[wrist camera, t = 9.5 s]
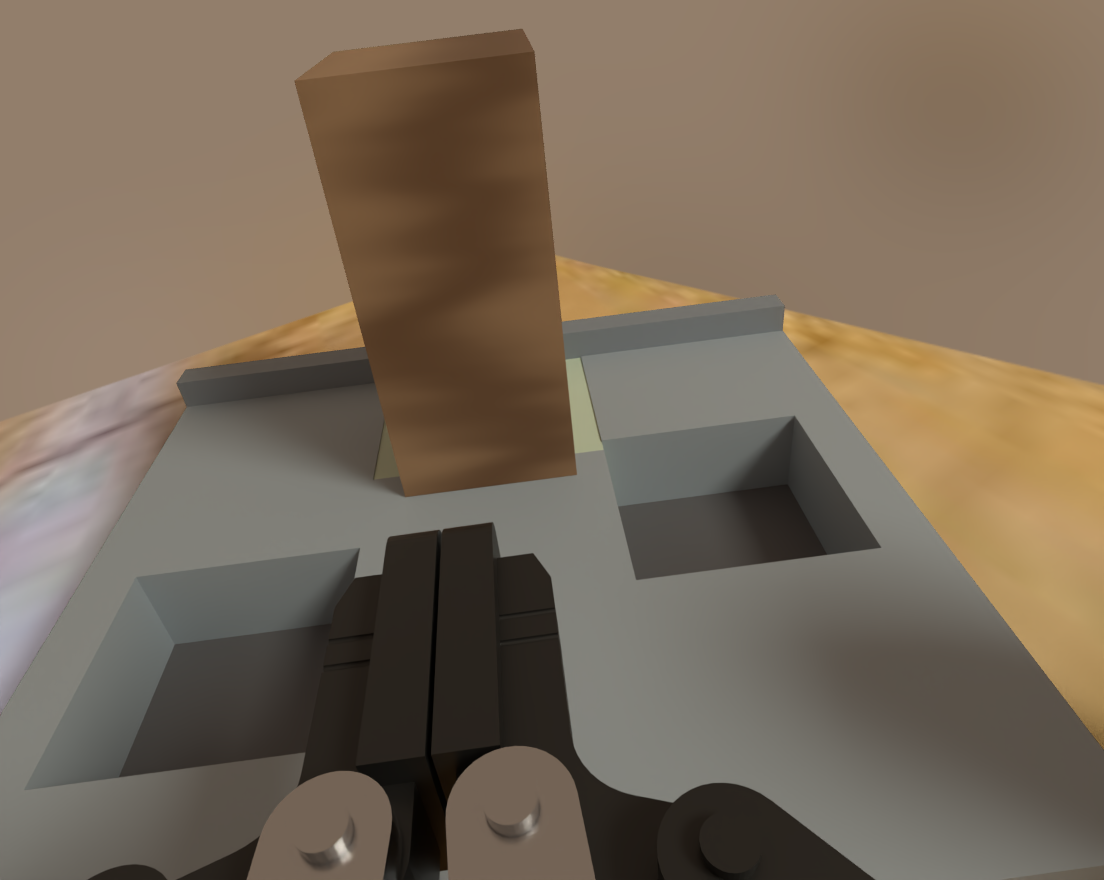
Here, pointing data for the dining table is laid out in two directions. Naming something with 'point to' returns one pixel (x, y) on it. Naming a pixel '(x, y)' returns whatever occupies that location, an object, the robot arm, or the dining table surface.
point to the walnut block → (448, 252)
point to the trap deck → (559, 618)
